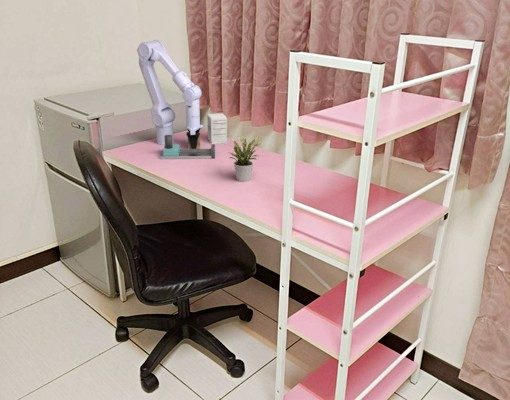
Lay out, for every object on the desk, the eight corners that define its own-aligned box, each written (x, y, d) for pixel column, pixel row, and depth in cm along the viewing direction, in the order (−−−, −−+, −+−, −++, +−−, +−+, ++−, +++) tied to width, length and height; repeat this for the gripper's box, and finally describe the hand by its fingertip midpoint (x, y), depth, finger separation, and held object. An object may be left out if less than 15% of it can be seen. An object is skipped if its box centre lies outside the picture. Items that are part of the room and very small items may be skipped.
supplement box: (207, 141, 227) (206, 113, 222) (223, 139, 230) (223, 112, 224) (211, 146, 221) (210, 118, 216) (227, 144, 223) (227, 116, 218)
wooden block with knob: (188, 147, 218) (188, 133, 216) (200, 147, 219) (199, 133, 216) (188, 151, 214) (187, 136, 211) (199, 151, 214) (199, 136, 212)
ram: (165, 151, 210) (164, 133, 206) (179, 151, 210) (178, 132, 207) (163, 157, 202) (162, 138, 199) (178, 157, 203) (177, 138, 199)
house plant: (270, 174, 190) (271, 132, 184) (260, 187, 178) (261, 143, 171) (234, 170, 194) (234, 129, 187) (222, 183, 182) (222, 139, 175)
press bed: (162, 153, 211) (162, 144, 209) (215, 152, 212) (214, 143, 211) (160, 161, 202) (159, 152, 200) (215, 160, 203) (214, 151, 202)
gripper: (202, 119, 204) (203, 151, 209) (203, 111, 217) (203, 141, 223) (184, 119, 203) (186, 151, 209) (186, 111, 217) (187, 141, 222)
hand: (194, 146), depth 216 cm, fingers closed on wooden block with knob, 5 cm apart
